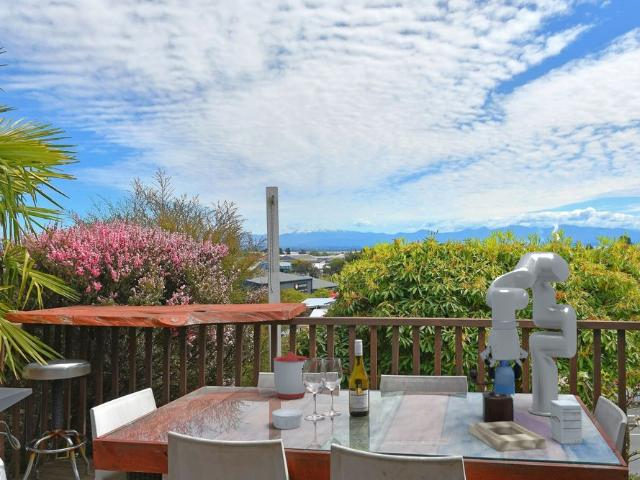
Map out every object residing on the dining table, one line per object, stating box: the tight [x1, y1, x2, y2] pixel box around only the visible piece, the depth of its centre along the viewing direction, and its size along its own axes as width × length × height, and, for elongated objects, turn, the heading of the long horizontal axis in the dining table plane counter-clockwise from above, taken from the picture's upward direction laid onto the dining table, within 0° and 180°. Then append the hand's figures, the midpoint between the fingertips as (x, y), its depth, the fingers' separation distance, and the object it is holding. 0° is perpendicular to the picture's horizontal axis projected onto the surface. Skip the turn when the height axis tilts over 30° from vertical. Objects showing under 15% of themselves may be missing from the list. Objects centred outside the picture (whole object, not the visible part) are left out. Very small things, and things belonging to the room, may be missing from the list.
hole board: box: [468, 421, 546, 452], centre depth 204 cm, size 16×22×3 cm
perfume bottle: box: [493, 360, 516, 396], centre depth 205 cm, size 6×6×12 cm
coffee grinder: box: [467, 369, 515, 423], centre depth 230 cm, size 16×11×18 cm
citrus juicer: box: [273, 351, 308, 400], centre depth 272 cm, size 16×17×20 cm
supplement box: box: [550, 399, 583, 445], centre depth 203 cm, size 7×7×13 cm
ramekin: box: [271, 407, 303, 431], centre depth 223 cm, size 11×11×5 cm
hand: (504, 378), depth 205 cm, fingers closed on perfume bottle, 8 cm apart
